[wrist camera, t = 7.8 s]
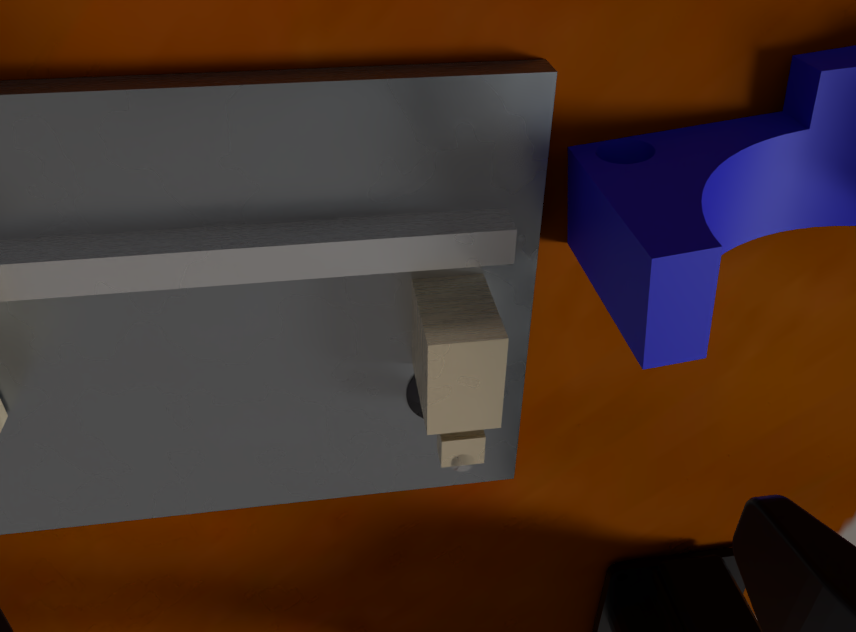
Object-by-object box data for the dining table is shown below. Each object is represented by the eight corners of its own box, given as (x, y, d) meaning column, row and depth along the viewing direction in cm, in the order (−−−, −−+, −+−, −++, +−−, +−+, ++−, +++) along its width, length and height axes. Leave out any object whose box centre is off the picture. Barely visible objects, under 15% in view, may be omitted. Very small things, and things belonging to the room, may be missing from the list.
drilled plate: (507, 457, 27) (536, 550, 23) (-96, 521, 24) (-156, 635, 21) (545, 59, 18) (599, 117, 15) (-360, 94, 16) (-526, 173, 13)
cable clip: (1004, 18, 20) (1233, 94, 15) (952, 172, 22) (1132, 279, 18) (565, 89, 19) (657, 193, 14) (565, 239, 22) (642, 369, 17)
